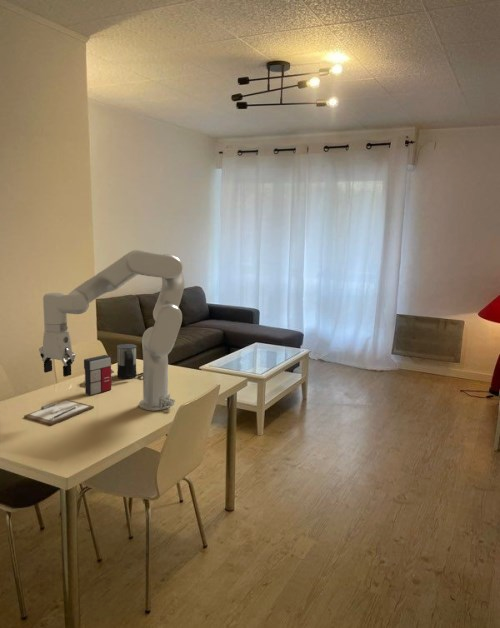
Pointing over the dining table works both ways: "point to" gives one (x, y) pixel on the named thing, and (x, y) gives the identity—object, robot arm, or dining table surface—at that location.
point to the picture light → (62, 412)
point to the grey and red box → (97, 374)
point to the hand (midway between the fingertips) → (57, 373)
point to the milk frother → (126, 361)
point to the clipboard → (58, 412)
